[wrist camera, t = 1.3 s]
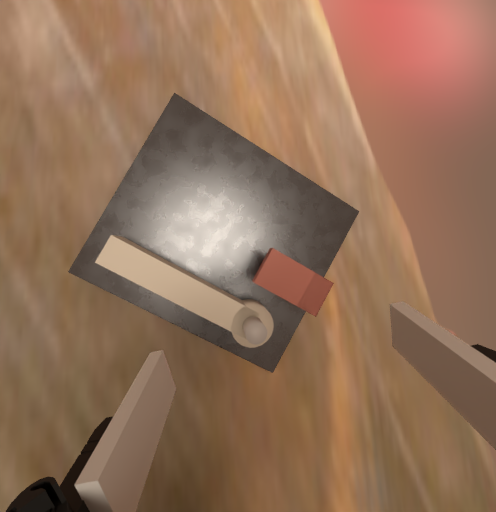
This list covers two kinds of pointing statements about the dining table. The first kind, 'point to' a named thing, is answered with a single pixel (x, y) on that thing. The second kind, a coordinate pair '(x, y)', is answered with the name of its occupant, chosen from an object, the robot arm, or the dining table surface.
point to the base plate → (216, 223)
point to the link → (188, 291)
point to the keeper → (292, 281)
